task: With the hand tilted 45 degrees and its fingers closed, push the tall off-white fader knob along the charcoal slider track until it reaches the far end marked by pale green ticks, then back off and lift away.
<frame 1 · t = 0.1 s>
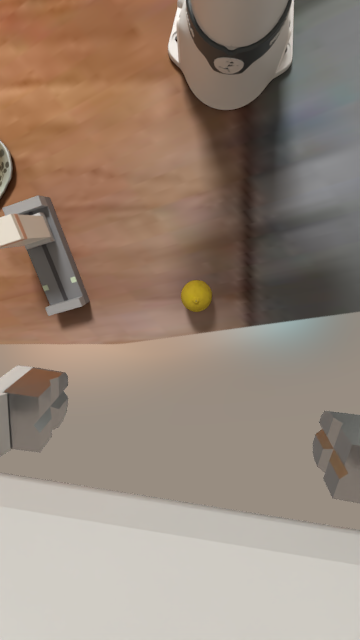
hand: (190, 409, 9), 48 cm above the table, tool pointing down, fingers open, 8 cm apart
slider knob: (20, 231, 49), point 8 cm above the table, slide at 0.0 cm
lemon: (196, 290, 57), on the table
slider track: (54, 257, 57), on the table
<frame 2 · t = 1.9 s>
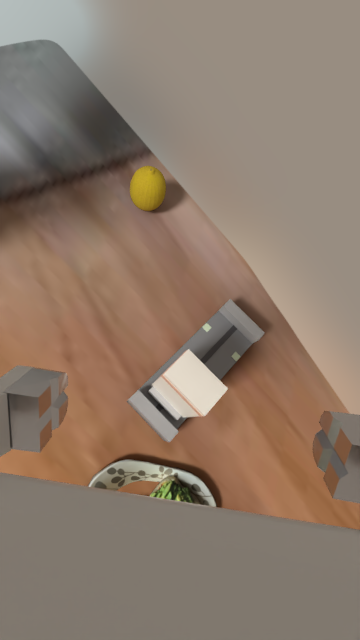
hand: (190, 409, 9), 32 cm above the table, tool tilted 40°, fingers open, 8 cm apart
salad plate: (146, 542, 35), on the table
slider knob: (184, 387, 34), point 8 cm above the table, slide at 0.0 cm
lemon: (144, 207, 50), on the table
slider track: (194, 368, 43), on the table
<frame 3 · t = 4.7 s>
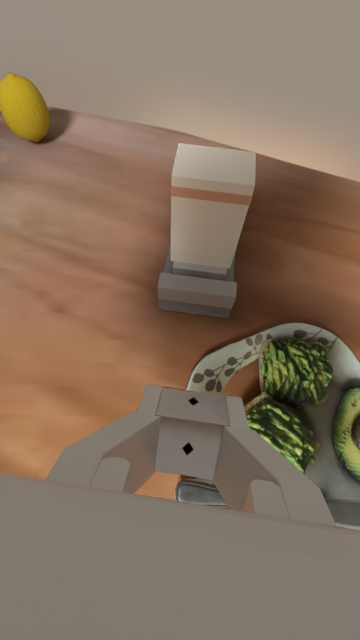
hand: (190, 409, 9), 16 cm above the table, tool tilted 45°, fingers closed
salad plate: (295, 427, 26), on the table
slider knob: (206, 220, 25), point 8 cm above the table, slide at 0.0 cm
lemon: (37, 143, 42), on the table
slider track: (203, 238, 34), on the table
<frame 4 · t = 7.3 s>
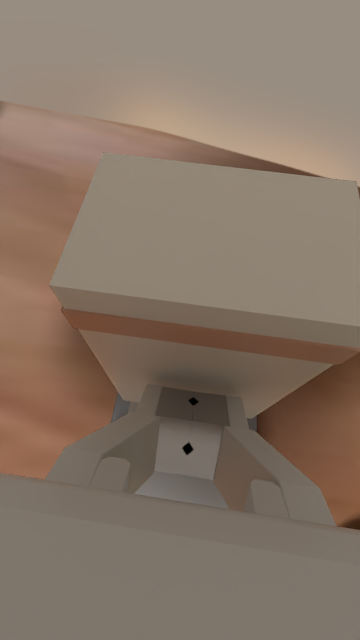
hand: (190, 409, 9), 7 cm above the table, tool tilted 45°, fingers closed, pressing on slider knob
slider knob: (198, 336, 10), point 8 cm above the table, slide at 0.8 cm, touching gripper
slider track: (195, 324, 19), on the table
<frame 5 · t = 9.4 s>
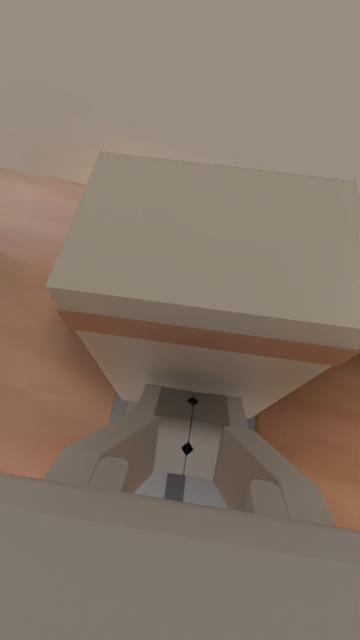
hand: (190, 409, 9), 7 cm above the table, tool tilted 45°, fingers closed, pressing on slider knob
slider knob: (197, 336, 10), point 8 cm above the table, slide at 10.1 cm, touching gripper
slider track: (173, 490, 15), on the table
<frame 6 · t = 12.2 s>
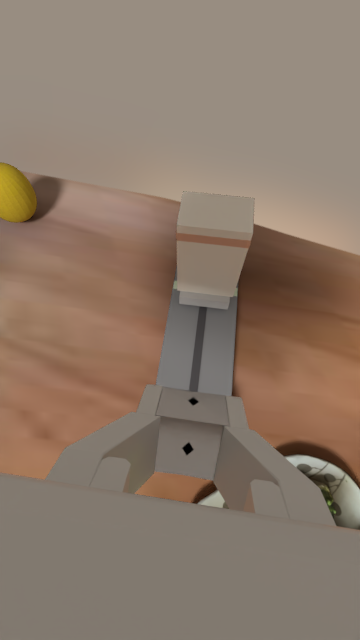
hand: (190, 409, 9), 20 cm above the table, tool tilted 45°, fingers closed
salad plate: (299, 585, 23), on the table
slider knob: (210, 255, 27), point 8 cm above the table, slide at 10.0 cm
lemon: (25, 220, 39), on the table
slider track: (199, 338, 32), on the table
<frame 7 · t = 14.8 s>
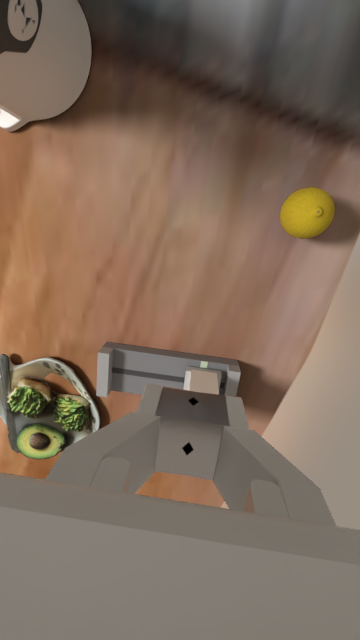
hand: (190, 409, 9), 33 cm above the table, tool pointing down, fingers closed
salad plate: (50, 406, 50), on the table
slider knob: (201, 404, 39), point 8 cm above the table, slide at 10.0 cm
lemon: (295, 214, 38), on the table
slider track: (169, 371, 46), on the table
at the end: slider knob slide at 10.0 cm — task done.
